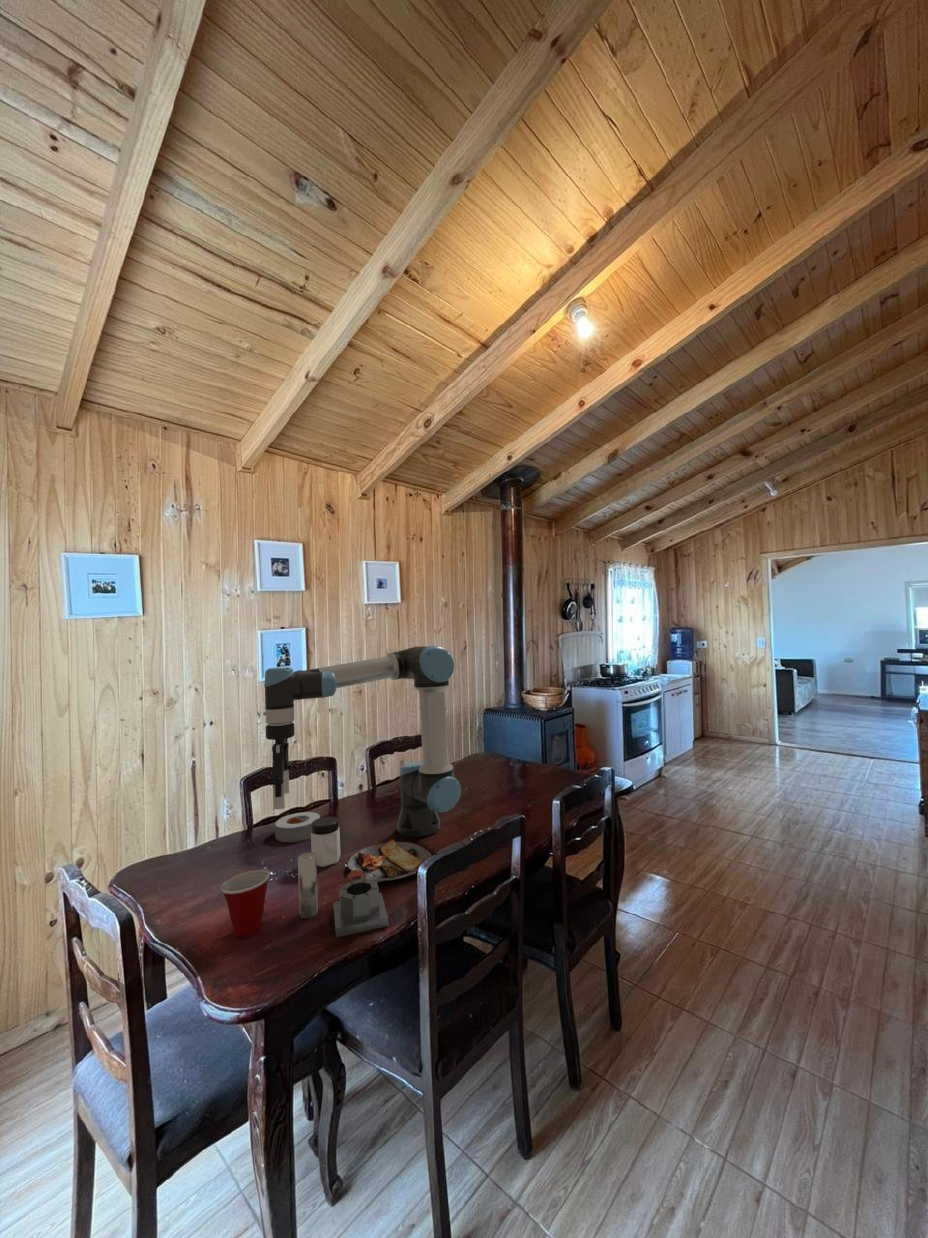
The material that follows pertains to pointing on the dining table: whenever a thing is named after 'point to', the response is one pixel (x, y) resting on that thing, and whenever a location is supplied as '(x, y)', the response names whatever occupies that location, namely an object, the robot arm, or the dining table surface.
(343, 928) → the valve body
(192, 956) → the dining table surface
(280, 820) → the tape roll
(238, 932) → the plastic cup
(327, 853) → the jar
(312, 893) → the pipe stub
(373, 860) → the food plate
